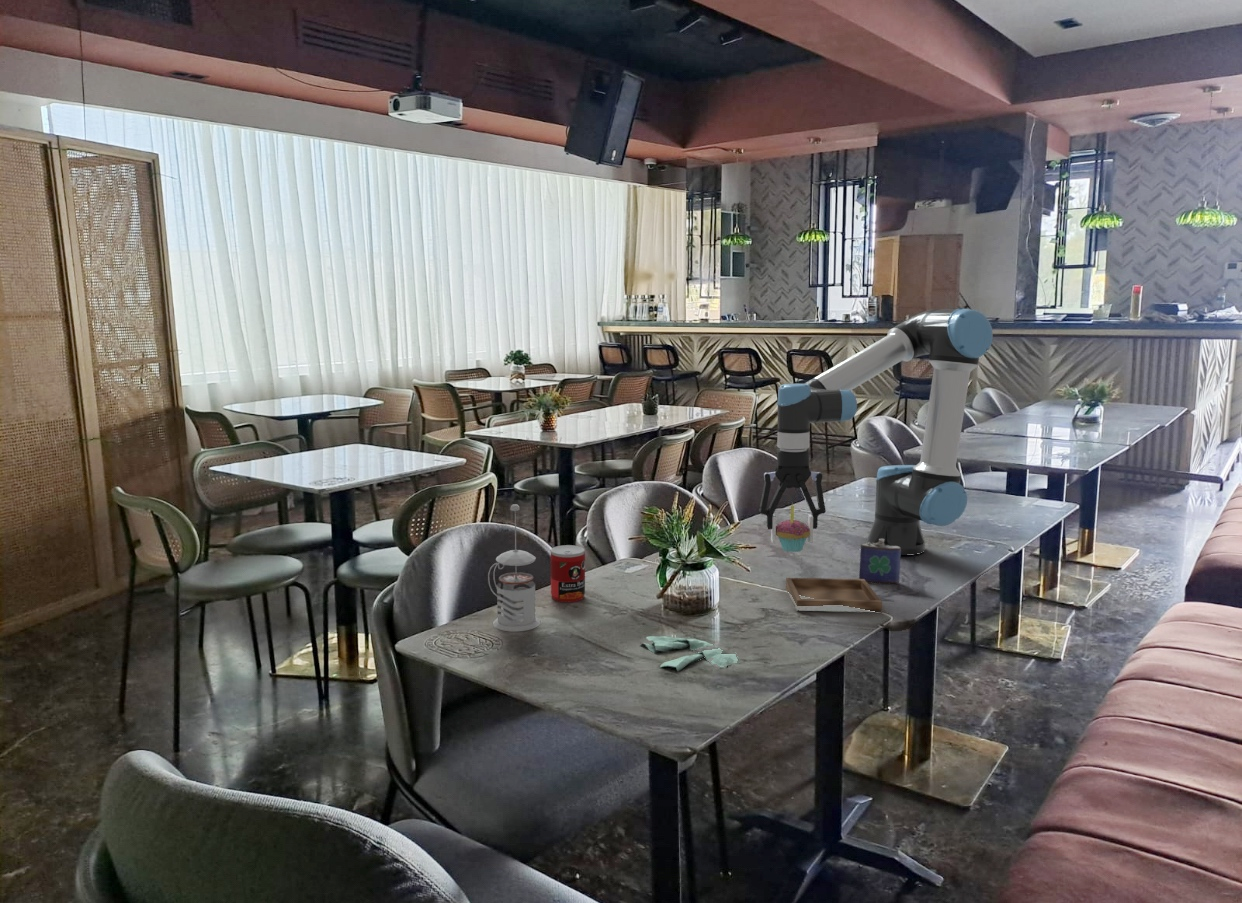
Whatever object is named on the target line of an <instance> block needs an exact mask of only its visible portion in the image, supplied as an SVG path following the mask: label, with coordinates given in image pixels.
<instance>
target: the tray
mask: <svg viewBox="0 0 1242 903" xmlns="http://www.w3.org/2000/svg"><path fill="white" fill-rule="evenodd" d="M785 589H786V592H787V593H788V592H789V593H790V594H791V595H792V597H793V599H794V601H795V603H796V605H797V606H823V605H843V606H849V607H855V608H860V609H865V610H870V611H875V612H881V613H882V612H883V610H882V608H883V607H882V606H883V602H882V600H881V599H880V597H879V595H877V593H876V592H875V591H874V589H873V588H872V587H871V586H870V584H869V583H867V582H866V581H865V579H859V578H828V577H827V578H823V577H822V578H820V577H819V578H818V577H817V578H816V577H814V578H813V577H785ZM799 595H801V596H805V597H810V598H814V599H801V598H800V596H799Z"/></svg>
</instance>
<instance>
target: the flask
mask: <svg viewBox="0 0 1242 903" xmlns="http://www.w3.org/2000/svg"><path fill="white" fill-rule="evenodd" d="M884 540H885V539H882V538H881V539H879V542H878V543H876V544H875V543H873V544H872V543H870V542H868V544H867V542H866V543H861V544H860V551H859V552H860V556H859V558H860V559H859V572H858V573H859V574H858V576H859V577H858V579H865V581H866V582H867V583H868V584H881V585H891V584H893V585H899V584H898V583H900V575H901V574H900V572H901V557H902V556H901V548H900V547H899V546H884Z"/></svg>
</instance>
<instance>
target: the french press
mask: <svg viewBox="0 0 1242 903" xmlns="http://www.w3.org/2000/svg"><path fill="white" fill-rule="evenodd" d="M509 510H510V511H512V512H514V549H511V550H507V551H505V552H502V553H501V554H498V556H496V558H495V561H496V562H495V563H494V564H492V565H491V566H490V568H489V570H488V574H487V584H488V586H489V588H490V591H491V592H492V594H493V595H494V596H495V597H497V599H496V601H497V604H496V605H497V606H496V607H497V611H496V612H497V618H495V619H494V620H493V623H492V626H493V627H494V628H495V629H497V630H500V631H504V632H505V631H506V632H523V631H524V632H525V631H531V630H533V629H535V628H537V627H538V626H540V625H541V620H540V619H539V618H538V617H537V616H536V615H537V614H536V583H535V582H534V581H533V580H534V576H533V575H532V574H531V573H529V572H528V573H527V572H521V571H520V572H517V567H520V566H527V565H530V564H533V563H534V562H535V561H536V558H537V557H536V556H534V555H533V554H532V553H530V552H528V551H525V550H521V549H517V514H516V513H517V511H520V506H519V505H518V504H515V503H514V504H512V505H511V506H510V509H509ZM500 565H502V567H500ZM505 566H511V567H512V566H514V568H515V571H513V572H507V573H504V574H501V575H499V577H498V581H499V582H498V583H497V582H496V579H495V577H496V576H495V572H496V568H498V570H502V569H504V568H505ZM492 568H494V570H493V582H494V586H495V588H496V593H495V592H494V590H493V588H492V585H491V583H490V581H491V580H490V573H491V570H492ZM496 583H497V584H496ZM501 583H502V584H501ZM518 585H524V586H521V587H520V586H519V587H516V586H518ZM525 585H526V586H528V587H529V588H528V587H525ZM501 586H502V588H501ZM515 587H516V588H515ZM502 608H503V609H502Z"/></svg>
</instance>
